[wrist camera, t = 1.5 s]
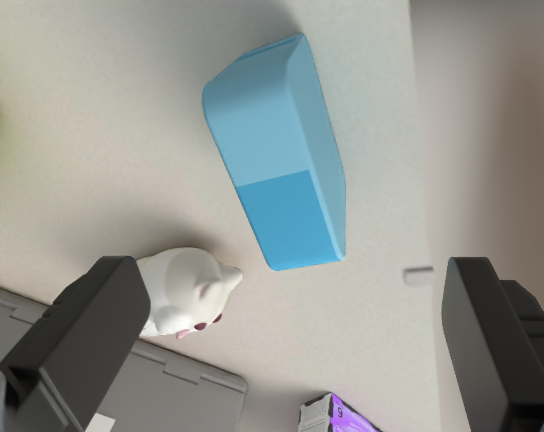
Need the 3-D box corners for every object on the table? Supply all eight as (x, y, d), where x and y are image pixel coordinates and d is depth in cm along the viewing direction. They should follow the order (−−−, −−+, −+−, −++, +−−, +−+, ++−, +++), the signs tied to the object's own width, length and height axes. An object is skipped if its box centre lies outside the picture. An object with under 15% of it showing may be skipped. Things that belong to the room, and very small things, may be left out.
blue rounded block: (246, 50, 28) (192, 93, 18) (305, 28, 27) (281, 63, 17) (295, 190, 34) (273, 282, 24) (346, 178, 33) (346, 271, 23)
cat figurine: (85, 363, 36) (206, 343, 29) (64, 280, 37) (178, 241, 30) (159, 328, 45) (267, 307, 38) (141, 261, 45) (244, 228, 38)
